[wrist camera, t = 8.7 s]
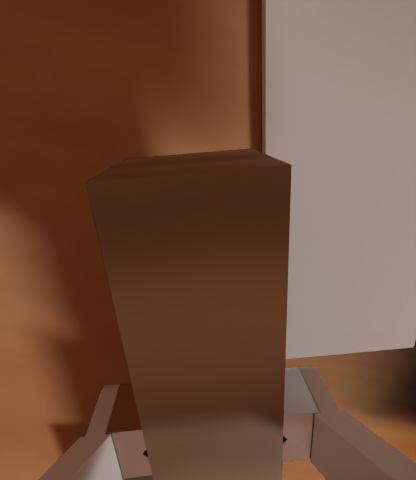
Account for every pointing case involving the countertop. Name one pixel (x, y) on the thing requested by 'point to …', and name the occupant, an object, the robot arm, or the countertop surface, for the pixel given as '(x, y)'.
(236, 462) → the tan mallet
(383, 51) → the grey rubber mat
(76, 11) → the countertop surface
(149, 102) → the countertop surface
